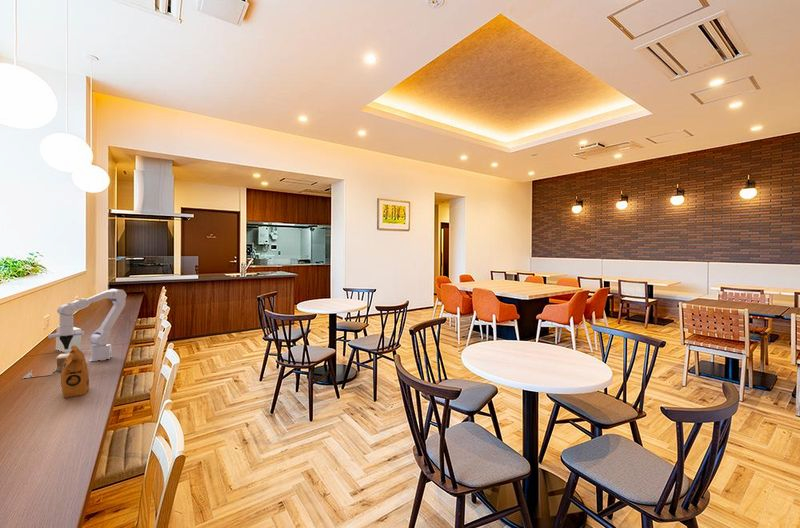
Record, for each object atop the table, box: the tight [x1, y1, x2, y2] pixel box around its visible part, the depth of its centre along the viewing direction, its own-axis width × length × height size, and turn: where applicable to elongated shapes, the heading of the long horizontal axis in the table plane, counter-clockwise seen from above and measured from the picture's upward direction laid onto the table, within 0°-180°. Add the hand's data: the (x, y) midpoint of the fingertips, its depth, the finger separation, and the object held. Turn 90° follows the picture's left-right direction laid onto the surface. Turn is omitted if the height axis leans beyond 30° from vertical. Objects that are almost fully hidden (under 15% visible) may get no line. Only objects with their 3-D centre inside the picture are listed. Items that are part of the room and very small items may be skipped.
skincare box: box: [55, 325, 82, 354], centre depth 223 cm, size 21×6×16 cm, turn 65°
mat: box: [21, 367, 57, 380], centre depth 188 cm, size 11×20×1 cm, turn 32°
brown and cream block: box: [56, 353, 70, 372], centre depth 192 cm, size 4×6×8 cm, turn 32°
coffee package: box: [60, 345, 90, 399], centre depth 162 cm, size 10×12×22 cm
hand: (66, 348), depth 195 cm, fingers closed
